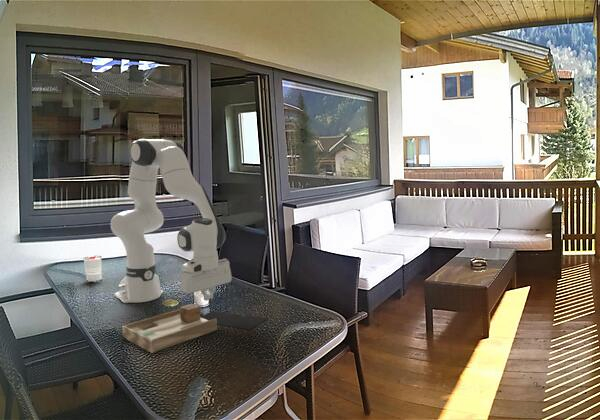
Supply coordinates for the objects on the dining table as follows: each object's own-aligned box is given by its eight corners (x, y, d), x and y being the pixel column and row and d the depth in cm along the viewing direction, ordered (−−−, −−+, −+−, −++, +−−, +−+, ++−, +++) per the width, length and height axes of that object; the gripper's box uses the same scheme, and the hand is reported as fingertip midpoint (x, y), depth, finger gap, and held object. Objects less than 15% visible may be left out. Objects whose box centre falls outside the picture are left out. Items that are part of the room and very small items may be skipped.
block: (180, 320, 169) (179, 306, 169) (192, 316, 173) (191, 303, 172) (188, 323, 166) (187, 309, 165) (200, 319, 169) (199, 306, 169)
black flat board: (250, 329, 165) (182, 318, 178) (250, 331, 165) (183, 319, 178) (267, 318, 176) (203, 308, 189) (267, 319, 176) (203, 309, 189)
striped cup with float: (82, 280, 237) (80, 257, 235) (99, 277, 242) (97, 254, 241) (89, 284, 229) (87, 260, 228) (106, 280, 235) (104, 257, 233)
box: (122, 337, 161) (122, 326, 161) (186, 317, 179) (185, 307, 179) (151, 353, 148) (150, 340, 147) (217, 329, 166) (216, 318, 165)
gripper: (223, 256, 182) (225, 291, 183) (177, 267, 167) (180, 304, 169) (233, 258, 177) (236, 294, 179) (187, 269, 163) (190, 308, 164)
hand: (208, 299), depth 174 cm, fingers closed
